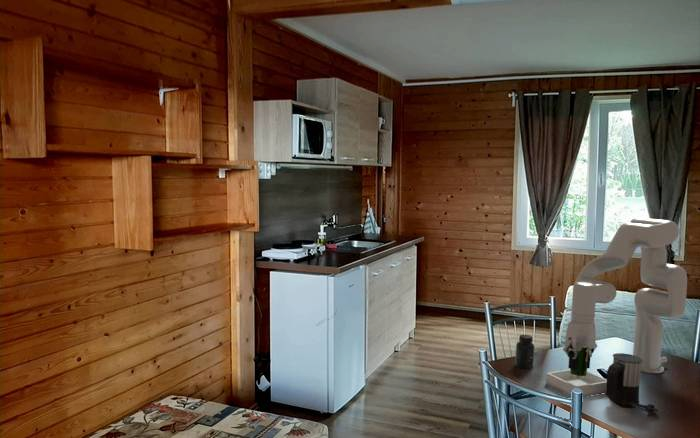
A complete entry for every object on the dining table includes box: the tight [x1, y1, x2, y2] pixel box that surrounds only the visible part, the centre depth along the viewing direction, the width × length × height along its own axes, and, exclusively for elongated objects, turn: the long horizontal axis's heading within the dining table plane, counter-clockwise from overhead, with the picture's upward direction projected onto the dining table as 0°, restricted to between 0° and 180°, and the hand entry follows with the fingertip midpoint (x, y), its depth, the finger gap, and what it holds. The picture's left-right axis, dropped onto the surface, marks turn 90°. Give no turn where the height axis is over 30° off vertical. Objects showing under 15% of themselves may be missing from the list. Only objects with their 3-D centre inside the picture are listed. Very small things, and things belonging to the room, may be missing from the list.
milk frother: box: [605, 352, 659, 414], centre depth 184 cm, size 14×16×15 cm
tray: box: [545, 368, 607, 399], centre depth 197 cm, size 16×14×4 cm
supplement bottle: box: [514, 334, 535, 370], centre depth 217 cm, size 7×7×12 cm
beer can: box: [569, 344, 589, 378], centre depth 196 cm, size 5×5×12 cm
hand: (578, 367), depth 196 cm, fingers closed on beer can, 5 cm apart
